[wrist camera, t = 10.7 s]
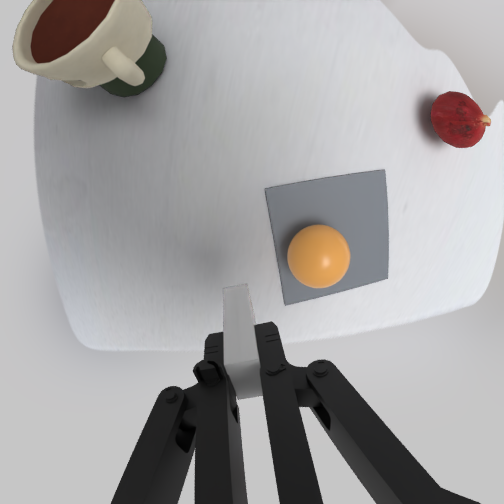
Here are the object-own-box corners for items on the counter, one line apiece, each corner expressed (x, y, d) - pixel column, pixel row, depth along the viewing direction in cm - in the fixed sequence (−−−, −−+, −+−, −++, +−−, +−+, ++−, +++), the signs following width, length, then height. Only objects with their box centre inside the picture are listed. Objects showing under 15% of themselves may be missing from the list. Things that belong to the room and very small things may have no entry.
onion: (428, 153, 24) (482, 162, 16) (408, 104, 22) (461, 99, 14) (457, 134, 23) (508, 139, 16) (439, 88, 21) (490, 83, 14)
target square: (264, 188, 24) (265, 189, 24) (384, 169, 24) (385, 169, 24) (284, 304, 28) (285, 305, 28) (387, 277, 29) (387, 278, 28)
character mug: (77, 61, 17) (-8, 26, 5) (133, 11, 16) (79, -59, 4) (139, 132, 21) (57, 124, 9) (202, 78, 20) (179, 11, 8)
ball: (305, 241, 20) (363, 227, 21) (274, 224, 24) (326, 214, 26) (308, 307, 21) (361, 288, 23) (279, 280, 26) (328, 266, 28)
